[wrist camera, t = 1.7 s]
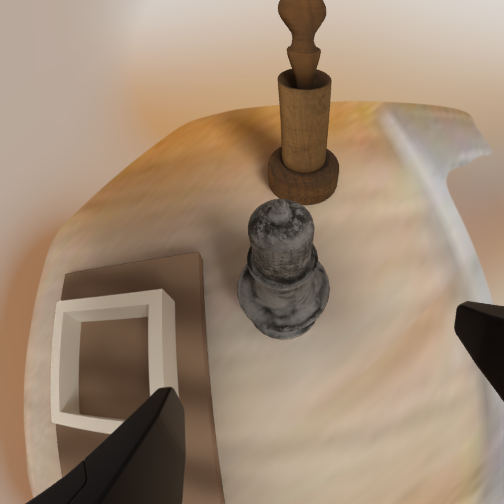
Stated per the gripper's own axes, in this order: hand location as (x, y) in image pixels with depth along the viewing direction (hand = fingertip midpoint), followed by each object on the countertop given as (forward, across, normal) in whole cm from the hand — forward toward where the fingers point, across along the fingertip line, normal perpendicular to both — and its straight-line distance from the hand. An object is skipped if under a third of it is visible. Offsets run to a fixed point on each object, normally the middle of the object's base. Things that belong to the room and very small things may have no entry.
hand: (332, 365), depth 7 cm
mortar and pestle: (+22, -5, -4) cm, 22 cm away
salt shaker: (+13, 0, +4) cm, 14 cm away
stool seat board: (+10, +13, +7) cm, 18 cm away
